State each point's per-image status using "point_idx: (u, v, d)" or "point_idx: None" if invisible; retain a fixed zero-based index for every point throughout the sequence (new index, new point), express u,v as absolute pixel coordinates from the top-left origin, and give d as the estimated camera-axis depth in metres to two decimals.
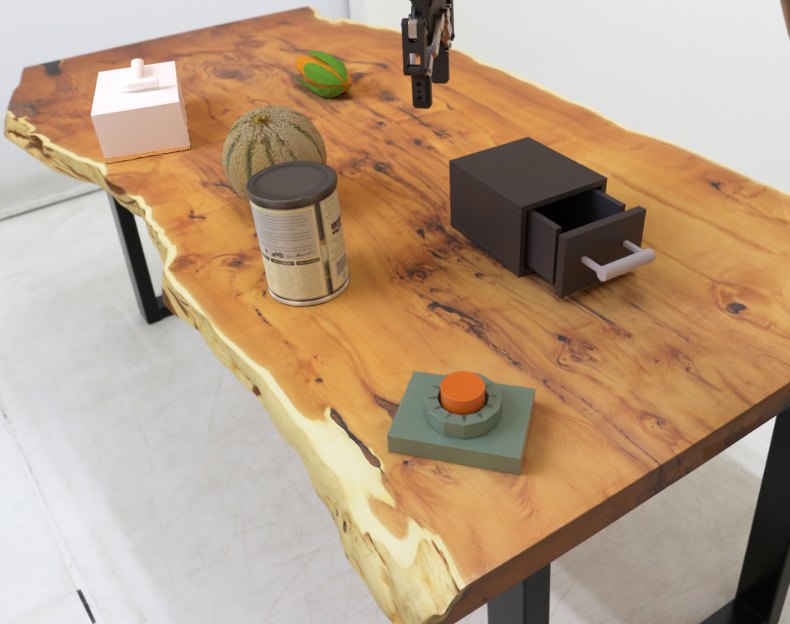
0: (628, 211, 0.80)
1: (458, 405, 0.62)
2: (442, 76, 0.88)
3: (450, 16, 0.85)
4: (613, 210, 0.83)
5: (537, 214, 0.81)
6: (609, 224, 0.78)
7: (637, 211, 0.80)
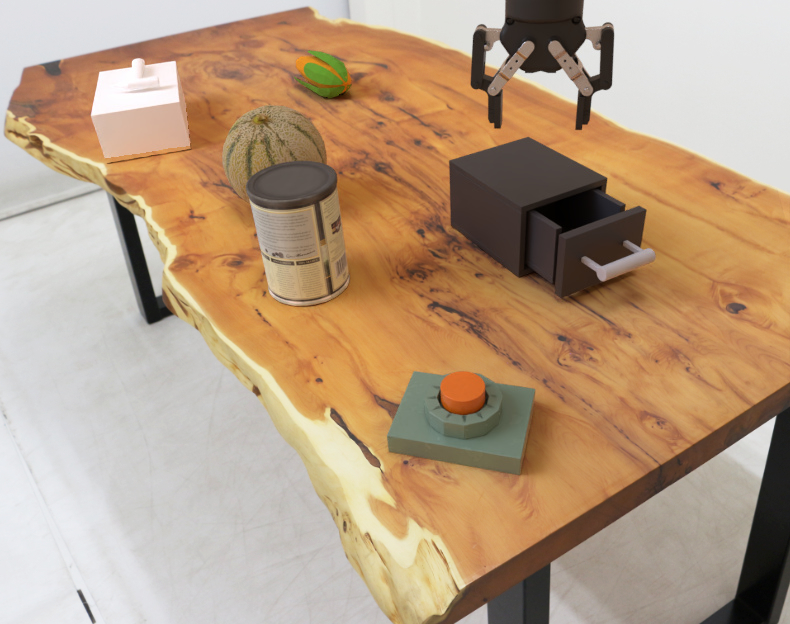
0: (628, 211, 0.80)
1: (458, 405, 0.62)
2: None
3: (600, 59, 0.70)
4: (613, 210, 0.83)
5: (537, 214, 0.81)
6: (609, 224, 0.78)
7: (637, 211, 0.80)
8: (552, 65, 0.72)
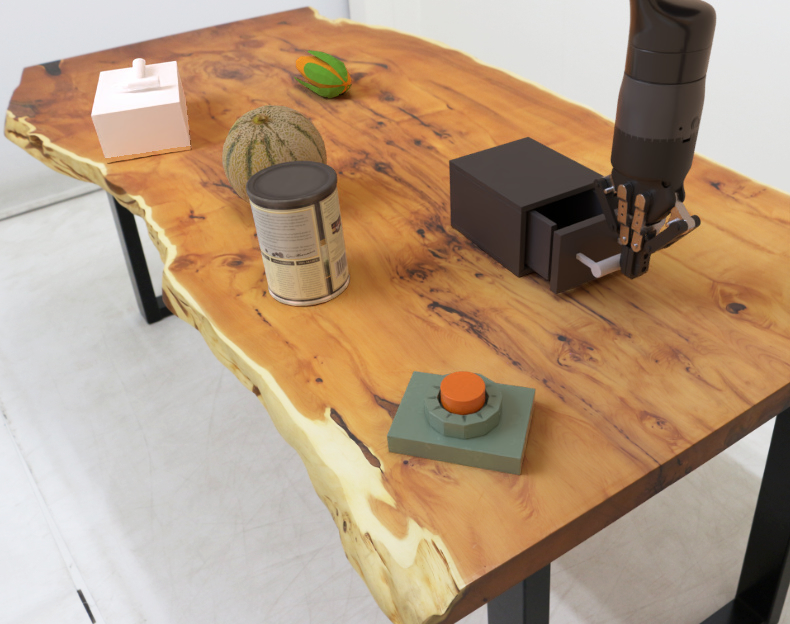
0: None
1: (458, 405, 0.62)
2: None
3: None
4: None
5: (532, 211, 0.82)
6: (604, 221, 0.79)
7: None
8: None
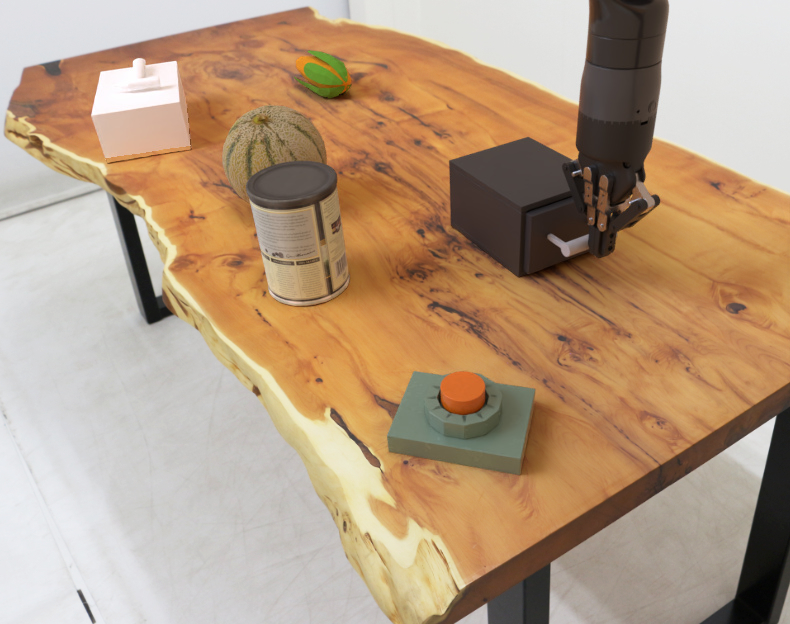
0: None
1: (458, 405, 0.62)
2: None
3: (623, 211, 0.73)
4: None
5: None
6: (573, 203, 0.83)
7: None
8: None
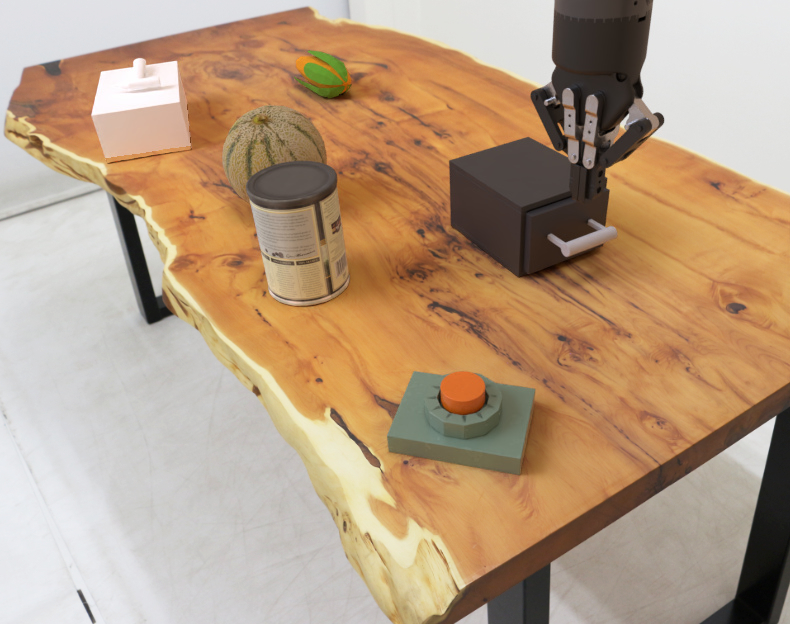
0: None
1: (458, 405, 0.62)
2: None
3: (619, 138, 0.59)
4: None
5: None
6: (573, 203, 0.83)
7: None
8: None
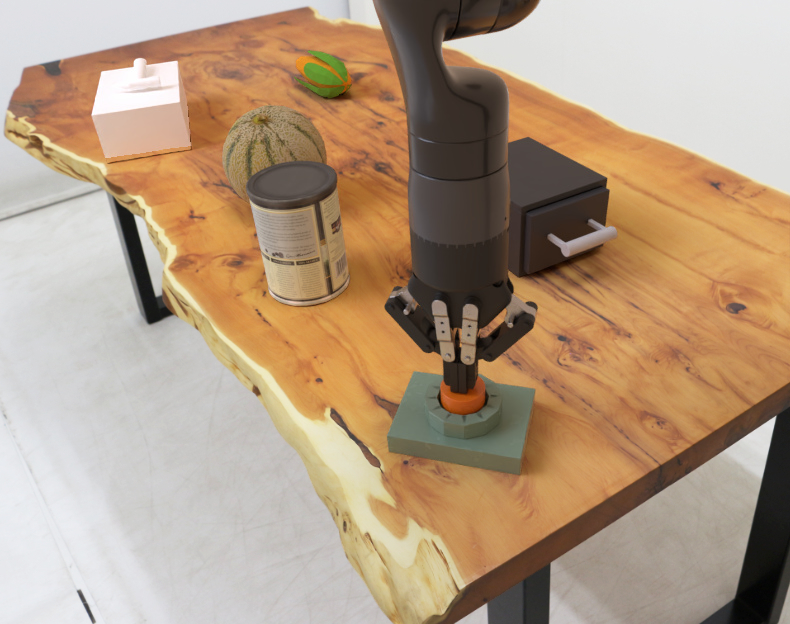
0: (592, 191, 0.84)
1: (458, 405, 0.62)
2: None
3: (502, 334, 0.57)
4: None
5: None
6: (573, 203, 0.83)
7: (601, 191, 0.84)
8: None
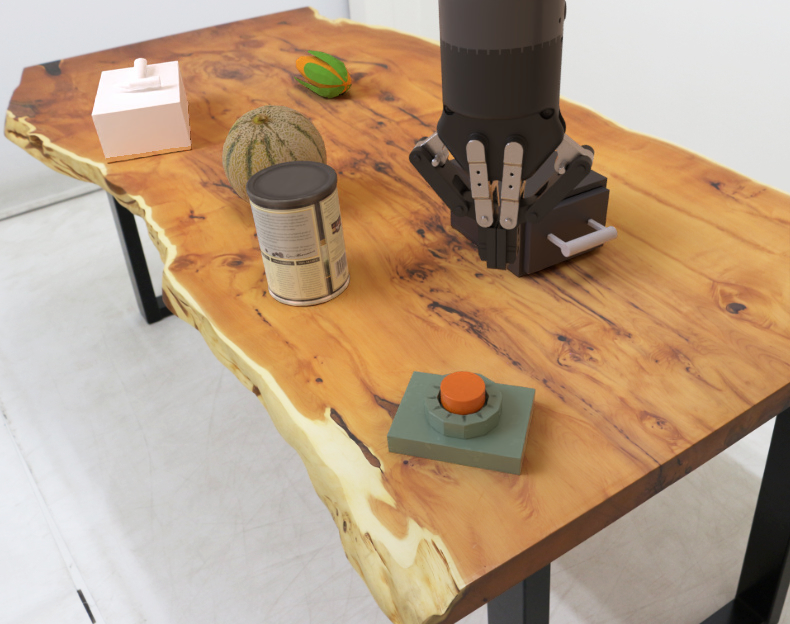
0: (592, 191, 0.84)
1: (458, 405, 0.62)
2: None
3: (551, 185, 0.48)
4: None
5: None
6: (573, 203, 0.83)
7: (601, 191, 0.84)
8: None
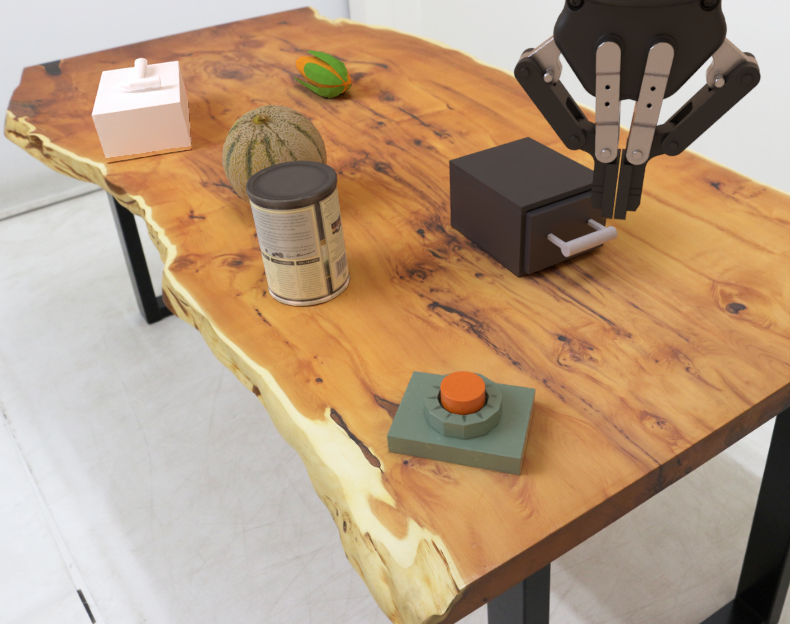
0: None
1: (458, 405, 0.62)
2: None
3: (702, 103, 0.37)
4: None
5: None
6: (573, 203, 0.83)
7: None
8: (653, 89, 0.37)
